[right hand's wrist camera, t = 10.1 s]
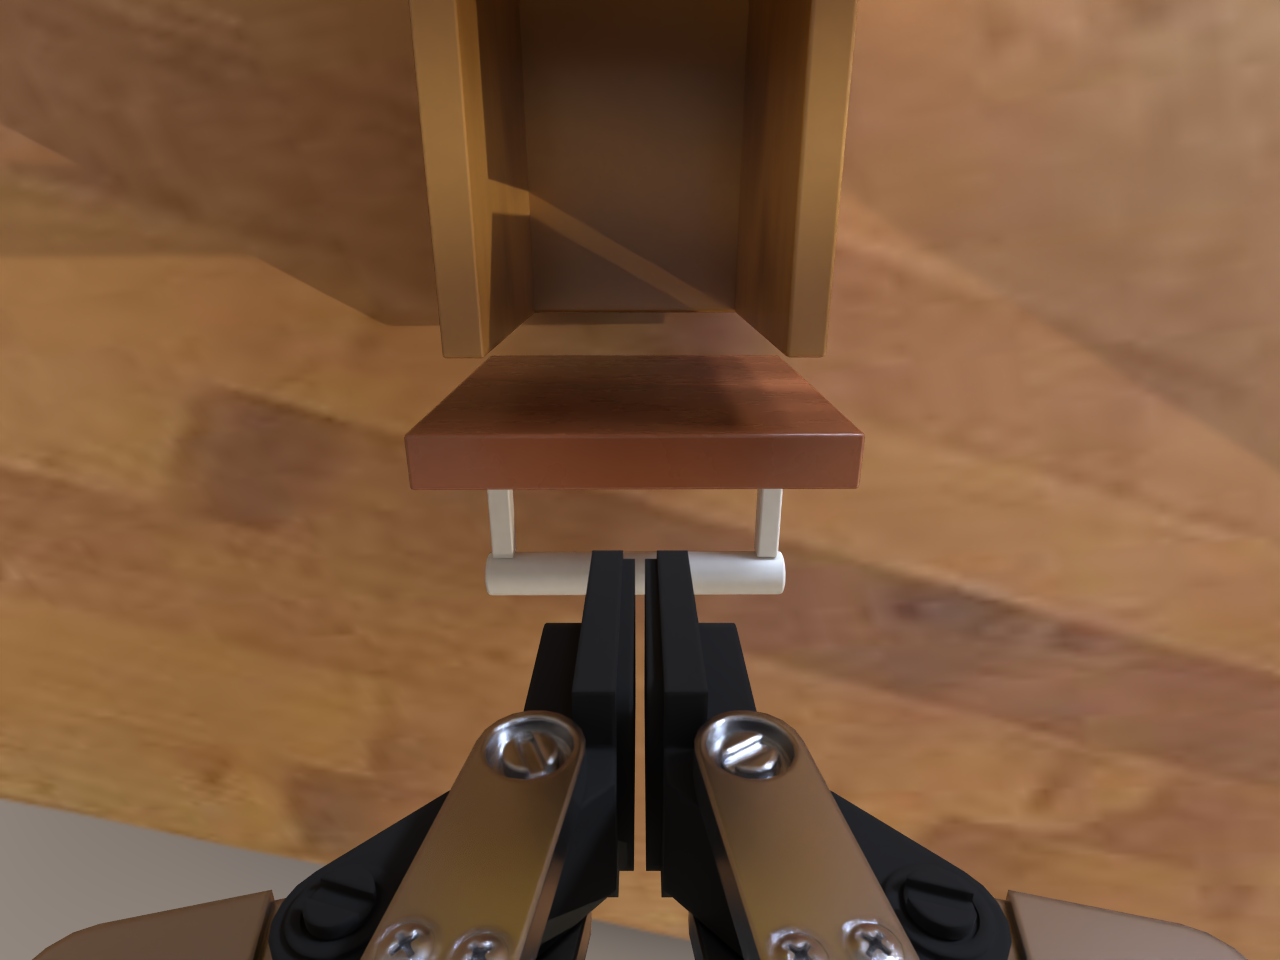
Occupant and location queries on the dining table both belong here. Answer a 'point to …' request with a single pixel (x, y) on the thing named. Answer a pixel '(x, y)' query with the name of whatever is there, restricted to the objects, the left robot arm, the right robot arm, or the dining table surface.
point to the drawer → (633, 255)
